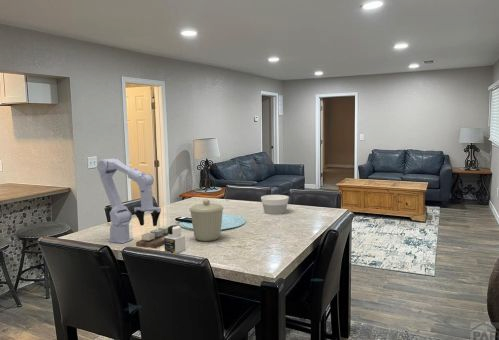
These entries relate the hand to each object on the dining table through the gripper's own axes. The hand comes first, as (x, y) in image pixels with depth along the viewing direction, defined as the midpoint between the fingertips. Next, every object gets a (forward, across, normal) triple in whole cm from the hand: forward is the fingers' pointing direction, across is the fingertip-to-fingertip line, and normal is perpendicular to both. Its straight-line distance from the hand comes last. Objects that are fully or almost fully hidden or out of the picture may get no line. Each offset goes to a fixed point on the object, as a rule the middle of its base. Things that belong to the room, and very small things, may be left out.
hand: (148, 225), depth 196 cm
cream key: (+8, -1, 0) cm, 8 cm away
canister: (+11, +24, +18) cm, 31 cm away
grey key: (+8, 0, +7) cm, 11 cm away
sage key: (+8, 0, +14) cm, 16 cm away
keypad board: (+10, +1, +7) cm, 12 cm away
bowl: (+11, +40, +89) cm, 98 cm away
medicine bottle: (+11, +17, -5) cm, 21 cm away
